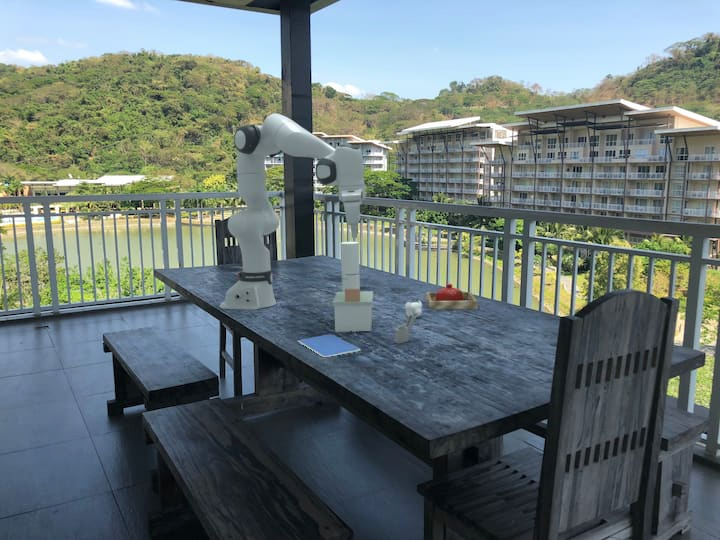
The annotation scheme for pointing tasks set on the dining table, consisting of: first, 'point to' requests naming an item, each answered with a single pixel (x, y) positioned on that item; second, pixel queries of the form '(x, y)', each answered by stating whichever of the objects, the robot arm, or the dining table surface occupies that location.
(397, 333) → the lighter
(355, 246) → the cylindrical container
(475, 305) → the wooden frame
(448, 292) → the butter dish
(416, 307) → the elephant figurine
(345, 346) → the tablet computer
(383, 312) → the dining table surface
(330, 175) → the robot arm
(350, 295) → the lid
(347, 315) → the parts tub
